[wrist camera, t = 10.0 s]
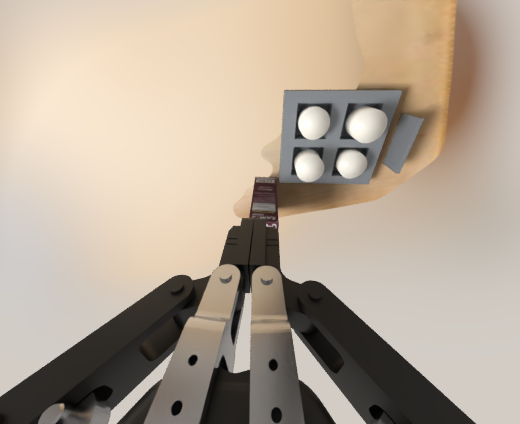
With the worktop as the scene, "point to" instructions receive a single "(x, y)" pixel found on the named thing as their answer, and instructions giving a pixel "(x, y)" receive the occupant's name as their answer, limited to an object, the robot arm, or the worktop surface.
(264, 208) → the supplement box
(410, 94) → the worktop surface
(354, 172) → the button
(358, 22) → the worktop surface
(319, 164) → the button
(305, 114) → the button
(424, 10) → the worktop surface
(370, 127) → the button
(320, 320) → the robot arm
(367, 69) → the worktop surface
